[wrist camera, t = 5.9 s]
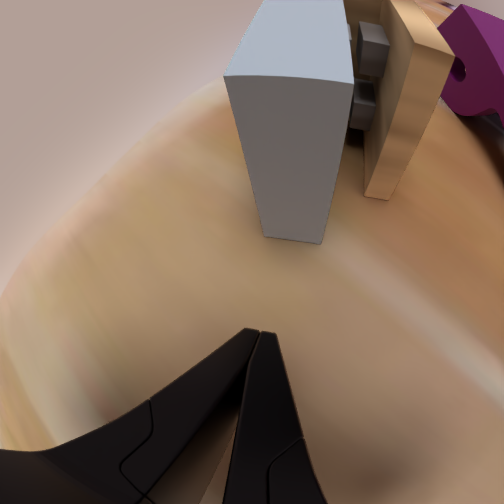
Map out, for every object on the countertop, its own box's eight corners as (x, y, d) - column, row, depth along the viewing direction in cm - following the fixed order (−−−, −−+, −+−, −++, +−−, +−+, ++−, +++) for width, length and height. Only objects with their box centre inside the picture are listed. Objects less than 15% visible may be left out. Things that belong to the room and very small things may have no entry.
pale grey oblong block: (330, 245, 14) (375, 87, 5) (242, 233, 15) (177, 78, 6) (338, 112, 17) (349, -17, 8) (272, 106, 18) (254, -22, 9)
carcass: (388, 200, 15) (455, 56, 5) (265, 182, 16) (235, 23, 7) (379, 102, 17) (402, -13, 8) (285, 90, 19) (273, -29, 9)
